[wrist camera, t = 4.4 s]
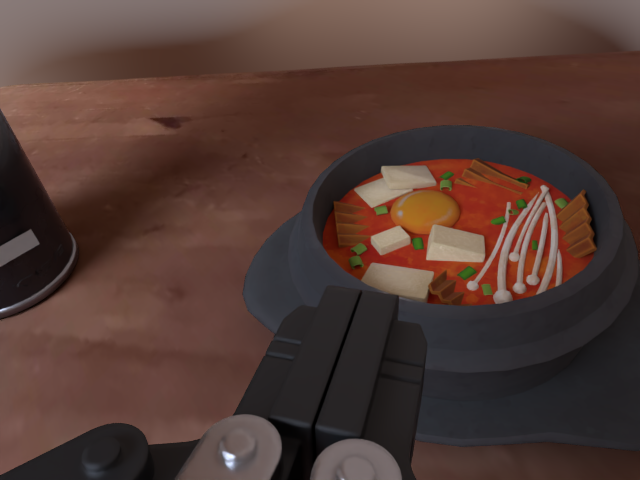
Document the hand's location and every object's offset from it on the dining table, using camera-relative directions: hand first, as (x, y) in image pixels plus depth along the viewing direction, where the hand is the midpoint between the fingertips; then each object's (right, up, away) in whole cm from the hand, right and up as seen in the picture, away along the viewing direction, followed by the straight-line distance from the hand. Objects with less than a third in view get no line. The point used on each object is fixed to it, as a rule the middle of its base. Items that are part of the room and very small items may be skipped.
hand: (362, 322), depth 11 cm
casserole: (+7, -3, +20) cm, 21 cm away
